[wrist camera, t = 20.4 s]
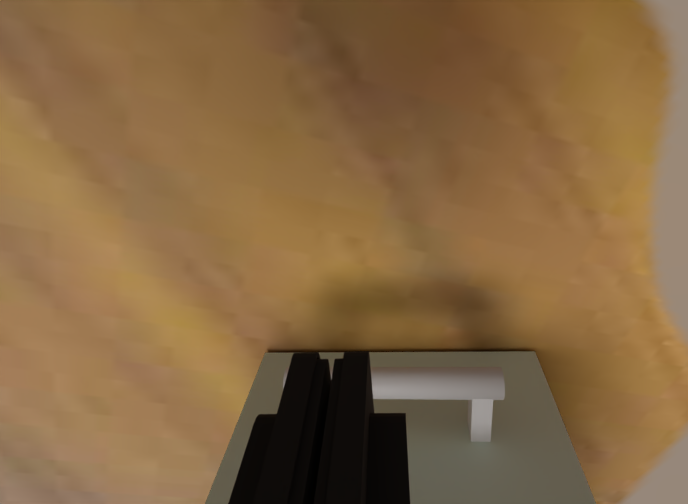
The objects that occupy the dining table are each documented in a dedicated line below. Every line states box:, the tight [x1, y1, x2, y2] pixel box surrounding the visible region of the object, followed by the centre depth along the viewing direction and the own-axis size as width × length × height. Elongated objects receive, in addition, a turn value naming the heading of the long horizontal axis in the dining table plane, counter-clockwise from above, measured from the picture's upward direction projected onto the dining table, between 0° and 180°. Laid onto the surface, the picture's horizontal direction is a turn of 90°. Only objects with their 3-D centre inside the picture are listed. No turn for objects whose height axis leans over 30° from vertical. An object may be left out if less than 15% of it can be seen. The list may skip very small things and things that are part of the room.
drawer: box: [205, 351, 596, 504], centre depth 29 cm, size 20×18×12 cm
